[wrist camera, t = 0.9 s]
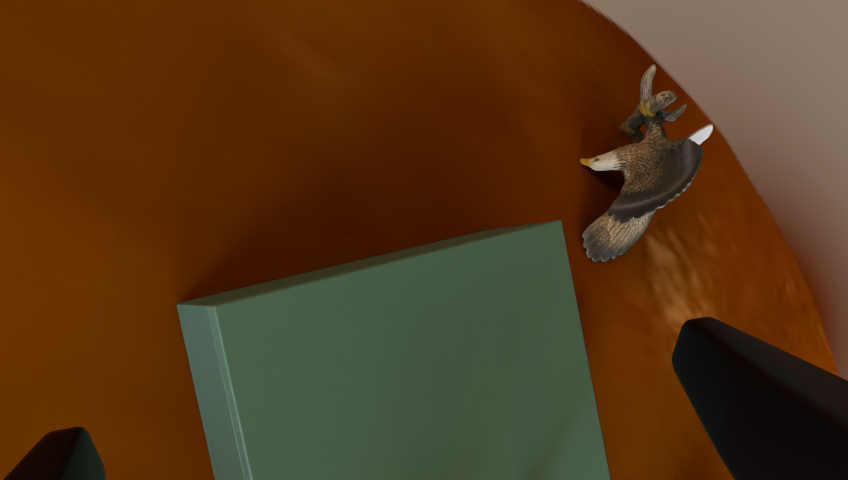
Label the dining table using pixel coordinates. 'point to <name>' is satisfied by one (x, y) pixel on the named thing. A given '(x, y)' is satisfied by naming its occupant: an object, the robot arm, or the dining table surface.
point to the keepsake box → (208, 363)
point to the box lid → (417, 369)
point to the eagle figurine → (643, 172)
